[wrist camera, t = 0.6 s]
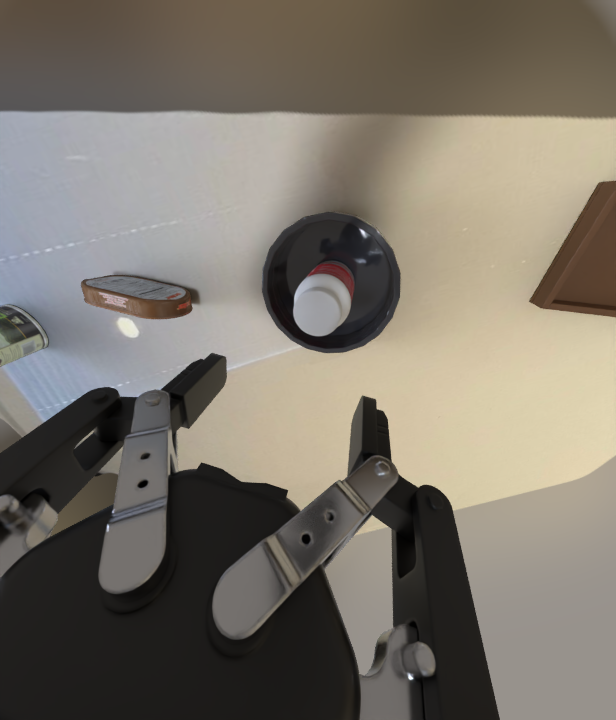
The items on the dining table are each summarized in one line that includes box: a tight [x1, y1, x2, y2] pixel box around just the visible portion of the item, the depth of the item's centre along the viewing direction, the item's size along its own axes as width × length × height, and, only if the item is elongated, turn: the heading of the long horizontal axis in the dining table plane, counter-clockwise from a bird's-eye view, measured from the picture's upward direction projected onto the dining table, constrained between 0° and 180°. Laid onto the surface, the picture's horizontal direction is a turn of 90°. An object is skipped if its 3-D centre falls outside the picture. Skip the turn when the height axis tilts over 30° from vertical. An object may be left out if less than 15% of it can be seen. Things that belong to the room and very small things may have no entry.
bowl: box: [262, 211, 400, 353], centre depth 30 cm, size 16×16×4 cm
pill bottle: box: [293, 261, 355, 336], centre depth 27 cm, size 6×6×11 cm
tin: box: [81, 275, 193, 319], centre depth 35 cm, size 15×3×8 cm, turn 81°
